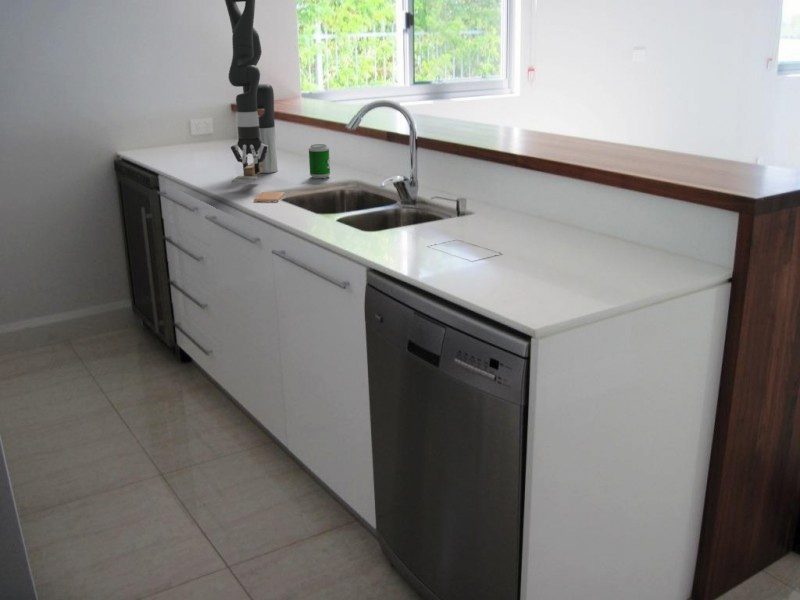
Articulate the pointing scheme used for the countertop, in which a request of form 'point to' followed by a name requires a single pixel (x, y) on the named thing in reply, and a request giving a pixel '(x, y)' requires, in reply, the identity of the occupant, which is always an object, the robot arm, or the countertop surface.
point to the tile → (270, 196)
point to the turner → (248, 174)
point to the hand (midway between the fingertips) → (251, 173)
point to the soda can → (319, 161)
